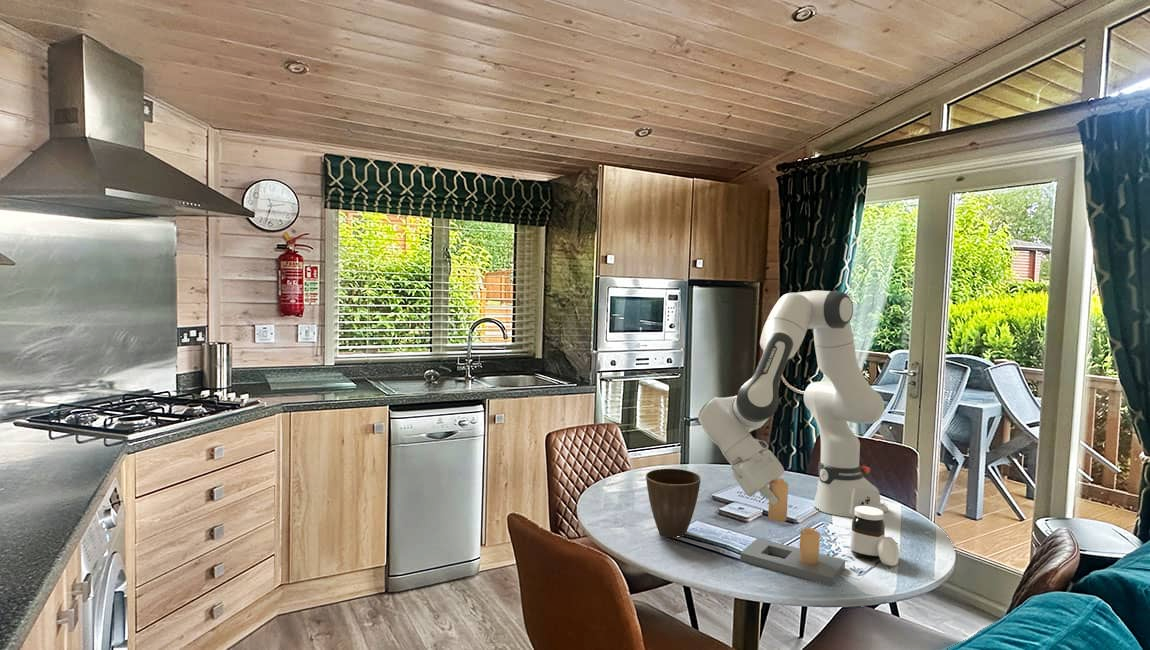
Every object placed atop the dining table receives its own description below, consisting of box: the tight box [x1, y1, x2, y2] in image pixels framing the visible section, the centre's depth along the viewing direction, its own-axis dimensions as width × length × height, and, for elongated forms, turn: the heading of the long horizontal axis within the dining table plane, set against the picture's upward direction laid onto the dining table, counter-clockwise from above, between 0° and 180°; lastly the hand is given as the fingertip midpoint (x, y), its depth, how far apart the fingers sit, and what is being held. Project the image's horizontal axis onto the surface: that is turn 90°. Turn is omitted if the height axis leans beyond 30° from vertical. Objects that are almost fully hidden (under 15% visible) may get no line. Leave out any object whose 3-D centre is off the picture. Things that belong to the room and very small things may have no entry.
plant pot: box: [645, 468, 702, 538], centre depth 178 cm, size 15×15×16 cm
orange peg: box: [767, 477, 789, 522], centre depth 161 cm, size 4×4×10 cm
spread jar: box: [850, 506, 900, 567], centre depth 165 cm, size 12×11×12 cm
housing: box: [739, 526, 846, 586], centre depth 160 cm, size 22×12×10 cm, turn 54°
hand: (780, 499), depth 161 cm, fingers closed on orange peg, 4 cm apart
